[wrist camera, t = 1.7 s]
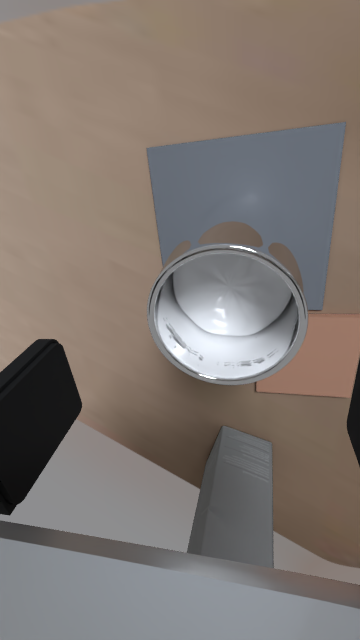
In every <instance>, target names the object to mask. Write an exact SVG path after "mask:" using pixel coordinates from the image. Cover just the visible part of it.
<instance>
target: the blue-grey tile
mask: <svg viewBox="0 0 360 640" xmlns="http://www.w3.org/2000/svg"><path fill="white" fill-rule="evenodd" d="M345 125H346V122H343V123H335V124H327V125H320V126H312V127H304V128H297V129H289V130H281V131H274V132H266V133H258V134H251V135H243V136H235V137H228V138H220V139H212V140H205V141H197V142H189V143H182V144H174V145H166V146H159V147H151V148H147V154H148V162H149V169H150V176H151V183H152V191H153V198H154V205H155V212H156V220H157V227H158V234H159V241H160V249H161V256H162V263H163V266H164V264H165V262H166V261H167V259H168V257H169V255H170V254H171V252H172V251H173V249H174V248H175V246H176V245H177V243H178V242H179V241H180V240H181V238H182V237H183V236H184V235H185V234H186V233H187V232H188V231H189V230H190V229H191V228H193V227H194V226H195V225H196V224H198V223H199V222H201V221H202V220H204V219H206V218H207V217H208V215H209V213H210V212H211V211H212V209H213V208H214V207H215V206H216V205H217V204H219V203H220V202H221V201H223V200H225V199H227V198H230V197H233V196H238V195H247V196H252V197H255V198H258V199H260V200H262V201H263V202H265V203H266V204H267V205H268V206H269V207H270V208H271V209H272V211H273V212H274V214H275V216H276V218H277V222H278V228H279V229H280V230H281V231H282V232H283V233H284V235H285V236H286V237H287V239H288V240H289V242H290V244H291V245H292V247H293V249H294V252H295V254H296V256H297V258H298V261H299V265H300V268H301V272H302V277H303V283H304V290H305V299H306V303H307V307H308V310H322V307H323V299H324V291H325V283H326V275H327V267H328V260H329V252H330V244H331V236H332V228H333V220H334V212H335V204H336V196H337V188H338V181H339V173H340V165H341V157H342V149H343V141H344V133H345Z"/></svg>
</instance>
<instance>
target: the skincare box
mask: <svg viewBox="0 0 360 640" xmlns="http://www.w3.org/2000/svg"><path fill="white" fill-rule="evenodd" d="M187 553H190V554H196V555H201V556H207V557H212V558H218V559H223V560H229V561H235V562H240V563H246V564H251V565H257V566H262V567H268V568H273V569H274V563H273V476H272V444H271V442H269V441H266V440H263V439H260V438H257V437H254V436H251V435H249V434H246V433H243V432H241V431H238V430H235V429H232V428H229V427H226V426H222V428H221V430H220V432H219V434H218V437H217V439H216V441H215V444H214V446H213V448H212V451H211V453H210V455H209V458H208V460H207V463H206V465H205V470H204V475H203V480H202V484H201V489H200V494H199V499H198V503H197V508H196V512H195V517H194V522H193V527H192V531H191V536H190V541H189V545H188V550H187Z"/></svg>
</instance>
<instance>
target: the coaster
mask: <svg viewBox="0 0 360 640" xmlns="http://www.w3.org/2000/svg"><path fill="white" fill-rule="evenodd" d="M359 353H360V314H308V328H307V333H306V336H305V339H304V342H303V344H302V346H301V348H300V349H299V351H298V353H297V354H296V355H295V357H294V358H293V359H292V360H291V361H290V362H289V363H288V364H287V365H286V366H285V367H284V368H282V369H281V370H280V371H278V372H277V373H275V374H273V375H271V376H269V377H267V378H265V379H263V380H260V381H257V382H256V392H270V393H285V394H301V395H316V396H332V397H347V398H350V397H351V392H352V387H353V382H354V377H355V373H356V368H357V363H358V358H359Z"/></svg>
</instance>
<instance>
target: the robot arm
mask: <svg viewBox="0 0 360 640" xmlns="http://www.w3.org/2000/svg"><path fill="white" fill-rule="evenodd" d="M81 408H82V402H81V399H80V396H79V393H78V390H77V387H76V384H75V381H74V378H73V375H72V372H71V369H70V366H69V363H68V360H67V357H66V354H65V351H64V348H63V346H62V345H61V344H59V343H58V341H57V340H55V339H38V340H36V341H35V342H34V343H33V344H32V345H31V346H29V347H28V348H27V349H26V350H25V351H24V352H23V353H22V354H20V355H19V356H18V357H17V358H16V359H15V360H14V361H13V362H12V363H10V364H9V365H8V366H7V367H6V368H5V369H4V370H3V371H1V372H0V514H4V515H10V514H11V513H12V511H13V510H14V509H15V507H16V505H17V504H19V503H21V502H22V501H23V500H24V499H25V497H26V496H27V494H28V492H29V491H30V489H31V488H32V486H33V485H34V483H35V481H36V480H37V479H38V477H39V475H40V474H41V472H42V471H43V469H44V468H45V466H46V465H47V463H48V461H49V460H50V458H51V457H52V455H53V454H54V452H55V451H56V449H57V447H58V446H59V444H60V443H61V441H62V440H63V438H64V437H65V435H66V434H67V432H68V430H69V429H70V427H71V426H72V424H73V423H74V421H75V420H76V418H77V417H78V415H79V413H80V411H81ZM347 430H348V434H349V437H350V440H351V443H352V446H353V449H354V452H355V454H356V457H357V460H358V463H359V466H360V360H359V365H358V369H357V374H356V379H355V384H354V389H353V394H352V398H351V403H350V408H349V413H348V418H347ZM0 640H360V585H357V584H352V583H347V582H341V581H337V580H332V579H326V578H321V577H316V576H311V575H306V574H301V573H296V572H290V571H284V570H279V569H273V568H268V567H262V566H257V565H251V564H246V563H240V562H235V561H229V560H223V559H218V558H212V557H207V556H201V555H196V554H190V553H184V552H179V551H173V550H168V549H162V548H156V547H151V546H145V545H139V544H133V543H127V542H122V541H116V540H110V539H104V538H99V537H93V536H88V535H82V534H76V533H70V532H65V531H59V530H53V529H47V528H41V527H35V526H29V525H23V524H17V523H11V522H5V521H0Z"/></svg>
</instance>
